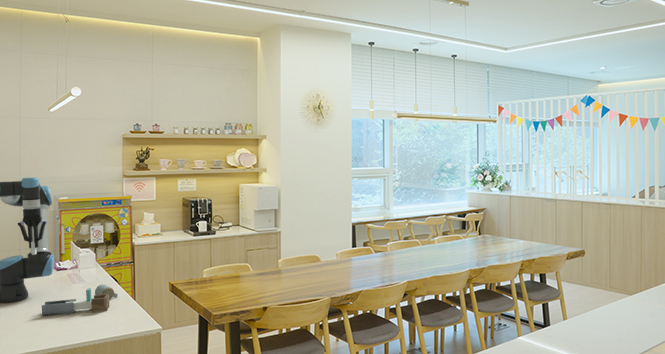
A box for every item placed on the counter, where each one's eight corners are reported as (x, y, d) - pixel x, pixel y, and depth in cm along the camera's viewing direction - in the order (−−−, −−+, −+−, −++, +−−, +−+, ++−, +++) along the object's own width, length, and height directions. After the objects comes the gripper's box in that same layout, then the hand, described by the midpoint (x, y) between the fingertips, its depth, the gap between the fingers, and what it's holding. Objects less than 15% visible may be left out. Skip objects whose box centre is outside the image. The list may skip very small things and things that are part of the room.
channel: (46, 312, 246) (45, 301, 246) (76, 309, 250) (76, 299, 249) (42, 316, 240) (41, 305, 239) (73, 313, 244) (72, 302, 243)
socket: (94, 307, 253) (94, 295, 252) (109, 305, 255) (108, 293, 254) (91, 312, 245) (91, 299, 245) (106, 310, 247) (106, 298, 247)
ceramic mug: (102, 302, 261) (102, 288, 261) (94, 299, 266) (94, 285, 266) (121, 297, 270) (120, 283, 269) (113, 295, 274) (112, 281, 274)
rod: (66, 308, 247) (65, 290, 247) (104, 305, 252) (104, 287, 251) (64, 310, 244) (63, 292, 243) (103, 307, 249) (102, 288, 248)
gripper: (14, 209, 240) (17, 256, 241) (44, 208, 243) (46, 254, 245) (19, 207, 247) (22, 253, 248) (48, 206, 250) (50, 251, 252)
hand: (34, 254), depth 246 cm, fingers closed
